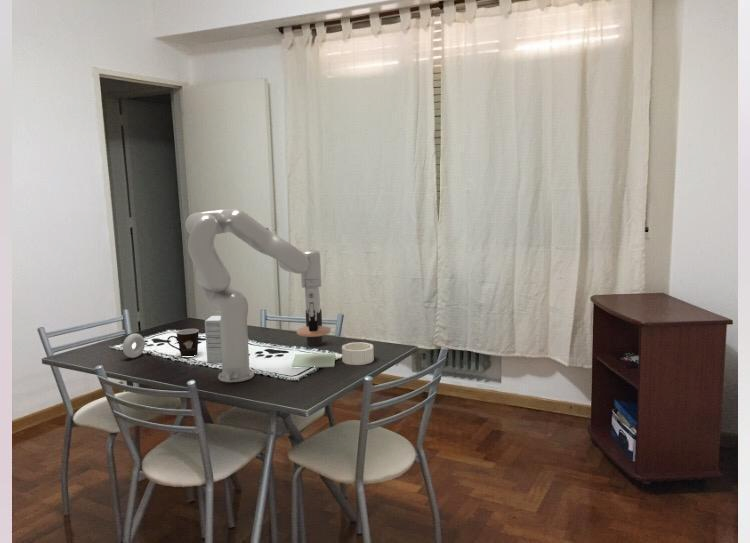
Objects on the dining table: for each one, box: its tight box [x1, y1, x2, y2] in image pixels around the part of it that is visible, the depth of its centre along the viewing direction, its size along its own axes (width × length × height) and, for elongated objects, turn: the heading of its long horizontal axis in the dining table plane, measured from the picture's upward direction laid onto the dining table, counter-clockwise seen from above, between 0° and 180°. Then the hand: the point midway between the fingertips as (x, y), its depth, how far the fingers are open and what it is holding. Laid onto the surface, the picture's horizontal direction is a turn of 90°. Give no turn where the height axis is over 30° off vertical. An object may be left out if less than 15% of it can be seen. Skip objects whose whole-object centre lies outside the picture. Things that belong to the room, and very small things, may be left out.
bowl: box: [341, 341, 375, 366], centre depth 226 cm, size 12×12×6 cm
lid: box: [296, 317, 332, 338], centre depth 224 cm, size 13×13×6 cm
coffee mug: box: [166, 328, 200, 357], centre depth 237 cm, size 12×9×10 cm
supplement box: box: [204, 315, 222, 363], centre depth 230 cm, size 10×9×17 cm
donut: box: [122, 333, 146, 359], centre depth 235 cm, size 10×4×10 cm, turn 154°
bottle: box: [305, 308, 324, 347], centre depth 249 cm, size 7×7×20 cm
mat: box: [291, 352, 336, 368], centre depth 226 cm, size 16×16×1 cm
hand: (313, 329), depth 225 cm, fingers closed on lid, 3 cm apart
